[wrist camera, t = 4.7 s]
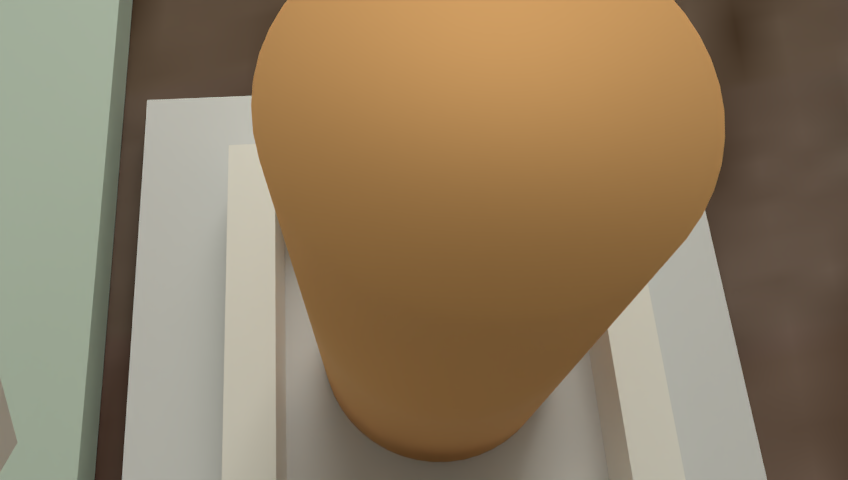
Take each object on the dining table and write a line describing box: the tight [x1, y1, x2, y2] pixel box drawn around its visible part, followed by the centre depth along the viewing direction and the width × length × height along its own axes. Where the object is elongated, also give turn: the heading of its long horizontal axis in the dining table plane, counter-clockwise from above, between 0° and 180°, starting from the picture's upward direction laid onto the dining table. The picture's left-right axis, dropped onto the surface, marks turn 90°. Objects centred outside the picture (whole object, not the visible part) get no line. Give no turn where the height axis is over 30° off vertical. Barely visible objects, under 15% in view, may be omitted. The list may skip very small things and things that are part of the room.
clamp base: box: [122, 96, 767, 480], centre depth 21 cm, size 16×16×3 cm
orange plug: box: [251, 0, 725, 462], centre depth 16 cm, size 6×6×12 cm
